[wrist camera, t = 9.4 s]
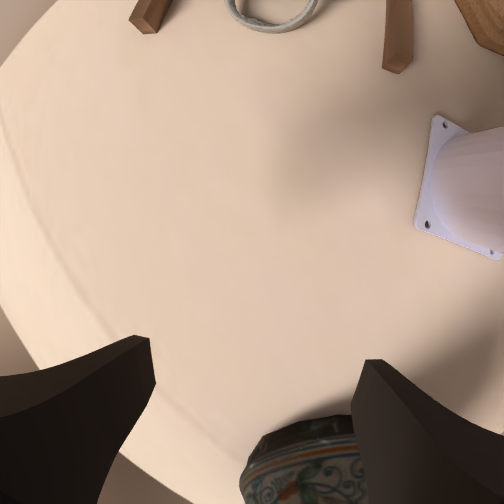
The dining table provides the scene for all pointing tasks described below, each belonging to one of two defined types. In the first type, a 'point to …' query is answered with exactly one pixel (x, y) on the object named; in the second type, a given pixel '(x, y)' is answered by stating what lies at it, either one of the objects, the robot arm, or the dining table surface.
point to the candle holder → (485, 22)
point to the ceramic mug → (267, 27)
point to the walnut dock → (396, 31)
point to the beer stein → (306, 465)
